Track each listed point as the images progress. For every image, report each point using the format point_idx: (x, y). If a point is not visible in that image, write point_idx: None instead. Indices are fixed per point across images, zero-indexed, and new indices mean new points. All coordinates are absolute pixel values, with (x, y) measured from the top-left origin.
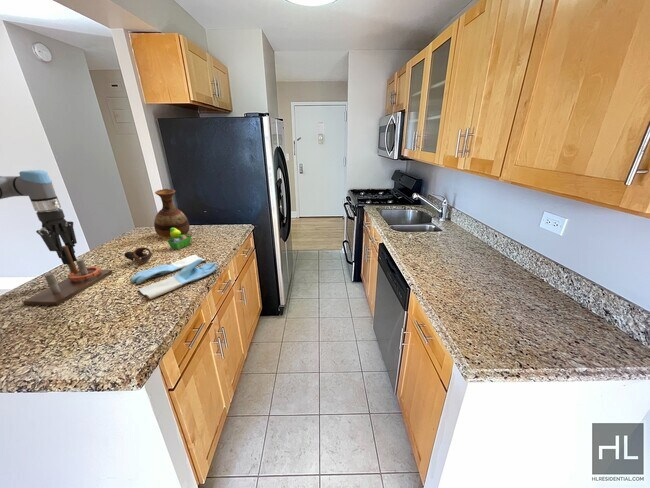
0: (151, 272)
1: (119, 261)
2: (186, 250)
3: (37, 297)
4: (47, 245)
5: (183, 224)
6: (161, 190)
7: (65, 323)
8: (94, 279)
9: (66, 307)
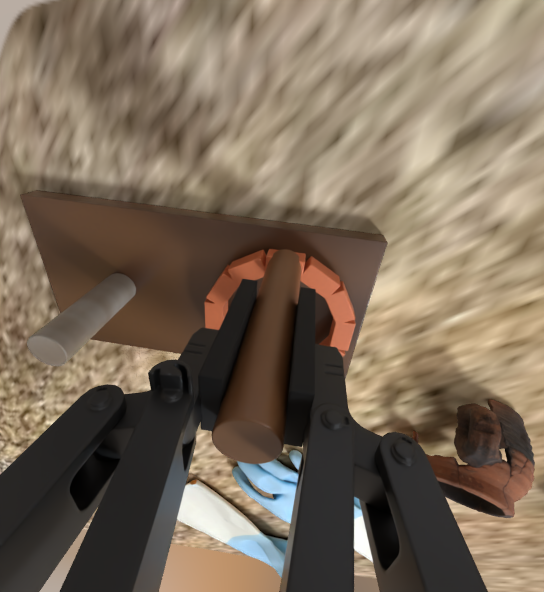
0: (288, 498)
1: (511, 334)
2: (532, 522)
3: (64, 237)
4: (3, 489)
5: None
6: None
7: (30, 398)
8: None
9: (80, 359)
